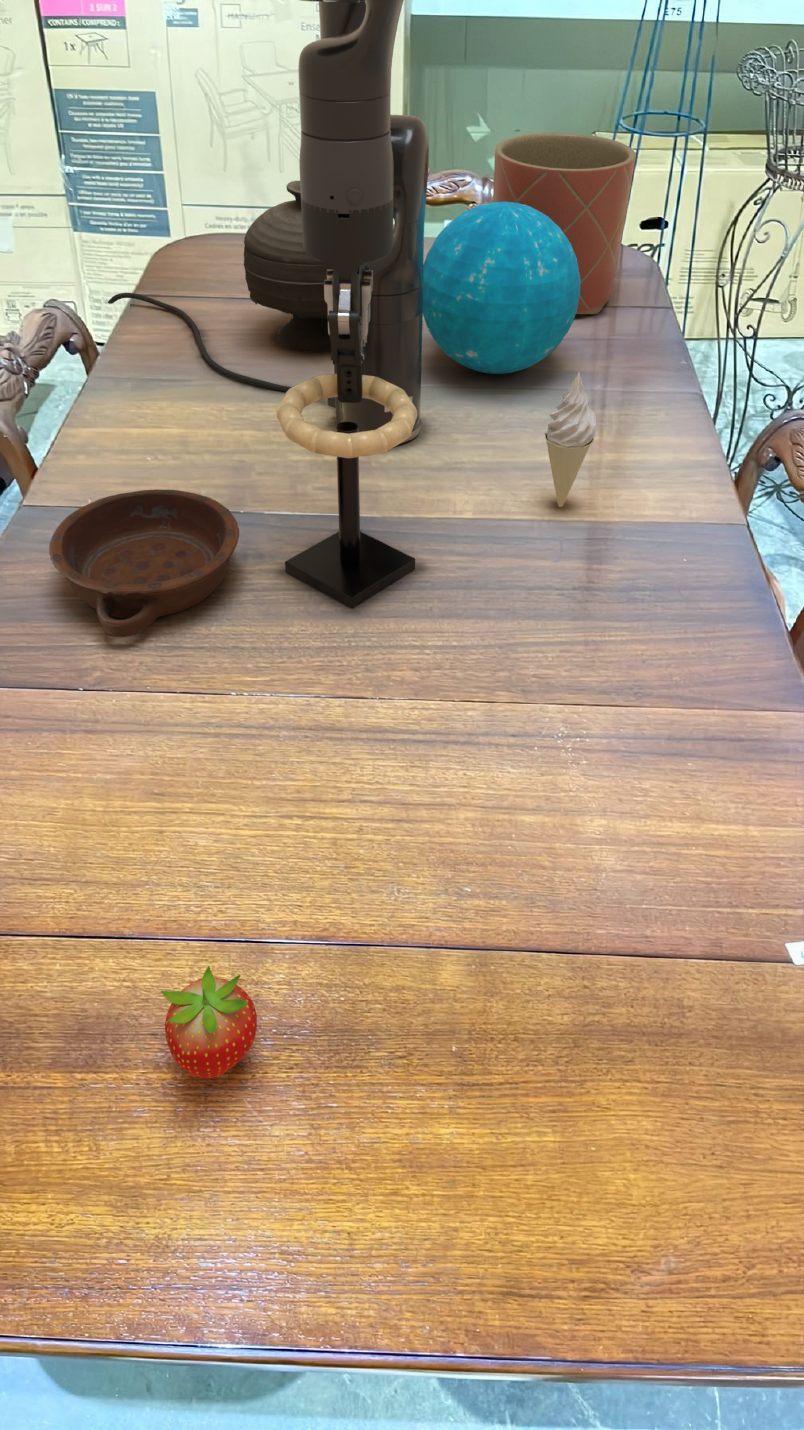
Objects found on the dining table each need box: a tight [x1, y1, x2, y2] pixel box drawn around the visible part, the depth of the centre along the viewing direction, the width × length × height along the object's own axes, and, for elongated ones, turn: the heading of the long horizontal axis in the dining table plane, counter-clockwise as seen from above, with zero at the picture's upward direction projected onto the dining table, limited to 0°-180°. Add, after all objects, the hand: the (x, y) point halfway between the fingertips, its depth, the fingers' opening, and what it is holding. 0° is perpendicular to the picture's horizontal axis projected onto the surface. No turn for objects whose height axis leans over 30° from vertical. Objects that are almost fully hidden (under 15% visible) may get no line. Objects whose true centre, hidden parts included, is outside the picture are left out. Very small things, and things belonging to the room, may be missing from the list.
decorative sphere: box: [423, 201, 580, 375], centre depth 135 cm, size 20×20×20 cm
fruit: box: [160, 965, 258, 1079], centre depth 63 cm, size 5×5×8 cm
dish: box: [48, 488, 240, 638], centre depth 102 cm, size 18×22×5 cm
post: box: [284, 422, 416, 609], centre depth 100 cm, size 9×9×15 cm
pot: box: [243, 180, 333, 353], centre depth 142 cm, size 18×18×20 cm
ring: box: [276, 373, 417, 458], centre depth 95 cm, size 12×12×2 cm
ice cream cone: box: [543, 371, 597, 508], centre depth 110 cm, size 5×5×15 cm
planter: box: [492, 132, 637, 315], centre depth 153 cm, size 19×19×20 cm
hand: (351, 393), depth 99 cm, fingers closed on ring, 2 cm apart
